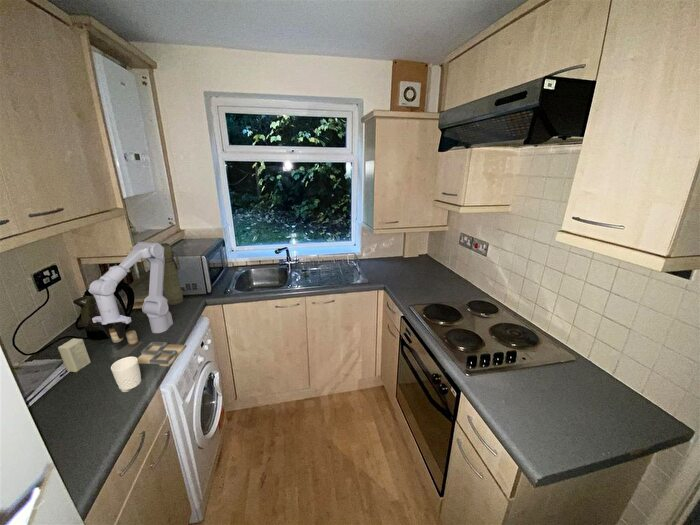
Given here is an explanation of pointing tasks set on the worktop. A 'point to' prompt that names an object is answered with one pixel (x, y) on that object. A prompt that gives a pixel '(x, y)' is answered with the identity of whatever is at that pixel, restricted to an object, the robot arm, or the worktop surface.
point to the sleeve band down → (132, 338)
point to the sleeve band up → (114, 335)
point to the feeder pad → (126, 350)
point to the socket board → (160, 353)
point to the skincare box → (74, 354)
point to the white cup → (126, 373)
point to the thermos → (171, 277)
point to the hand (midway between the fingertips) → (117, 337)
